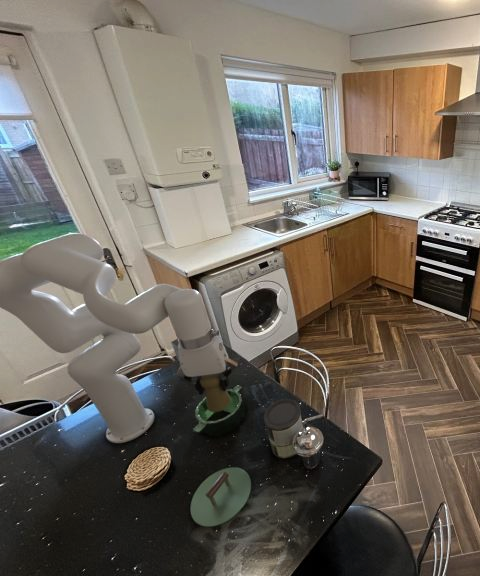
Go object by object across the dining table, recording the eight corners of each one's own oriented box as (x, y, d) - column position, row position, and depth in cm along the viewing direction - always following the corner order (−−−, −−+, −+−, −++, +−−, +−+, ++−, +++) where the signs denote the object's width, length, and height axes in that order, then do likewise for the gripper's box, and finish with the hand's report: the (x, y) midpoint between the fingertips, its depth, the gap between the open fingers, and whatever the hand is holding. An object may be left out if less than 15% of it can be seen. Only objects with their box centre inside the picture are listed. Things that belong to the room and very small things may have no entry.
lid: (177, 516, 79) (169, 502, 76) (221, 463, 91) (215, 449, 88) (224, 537, 75) (218, 524, 72) (263, 479, 87) (258, 465, 84)
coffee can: (264, 453, 94) (255, 422, 87) (284, 425, 102) (278, 395, 96) (293, 464, 91) (286, 433, 84) (311, 434, 99) (307, 404, 93)
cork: (221, 413, 85) (211, 384, 80) (202, 410, 86) (191, 381, 81) (235, 396, 91) (226, 368, 85) (216, 393, 92) (207, 365, 86)
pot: (183, 436, 98) (177, 423, 95) (227, 392, 114) (223, 379, 111) (218, 449, 95) (213, 435, 92) (258, 402, 110) (255, 389, 107)
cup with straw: (305, 445, 96) (297, 400, 86) (332, 453, 94) (327, 408, 84) (291, 472, 89) (281, 426, 79) (319, 481, 87) (313, 435, 77)
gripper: (235, 324, 82) (249, 375, 91) (164, 332, 79) (185, 383, 87) (229, 342, 76) (244, 394, 84) (151, 351, 72) (175, 404, 81)
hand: (214, 388), depth 86 cm, fingers closed on cork, 5 cm apart
